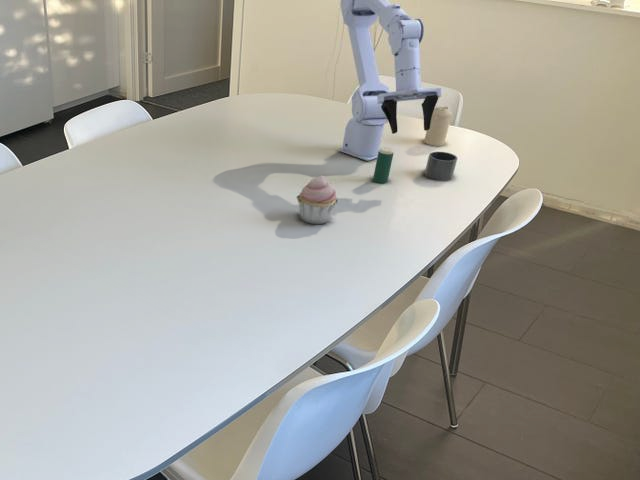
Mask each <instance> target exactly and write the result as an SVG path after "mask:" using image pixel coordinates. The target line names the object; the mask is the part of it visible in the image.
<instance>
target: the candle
mask: <svg viewBox="0 0 640 480" xmlns="http://www.w3.org/2000/svg"><path fill="white" fill-rule="evenodd" d="M452 115H453V112H452V111H451V109H450V107H449V106H435V108H434V111H433V114H432V118H431V123H430V129H429V130H427V131H425V135H424V141H423V142H424V144H427V145H430V146H435V147H440V146H444V145H445V142H446V139H447V134H448V131H449V126H450V123H451V119H452Z"/></svg>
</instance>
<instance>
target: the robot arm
mask: <svg viewBox="0 0 640 480" xmlns="http://www.w3.org/2000/svg"><path fill="white" fill-rule="evenodd" d="M400 4H401V3H390V1H389V0H340V5H339V6H340V9H341V16H342V19H343V20H342V21H343V23H344V25H346V26H347V31H348V35H349V40H350V46H351V50H352V55H353V61H354V66H355V71H356V77H357V80H358V86H359V87H358V88H357V89H356V90H355V91H354V92H353V93H352V96H351V114H352V117H351V118H350V119H349V120H348V121H347V123H346V126H345V130H344V135H343V141H342V146H341V148H340V149H339V151H340V152H341V153H345V154H346V155H349V156H353V157H354V158H358V159H361V160H363V161H367V162H369V161H371V160H375V159H377V157H378V152H379V151H380V148H381V143H382V138H383V133H384V129H385V124H389V127H390V131H391V134H392V135H395V134H397V133H398V117H397V115H398V114H397V112H398V111H397V110H398V109H397V108H398V102H406V101H416V100H417V101H418V100H423V102H422V103H421V108H422V116H423V131H425V132H426V131H427V130H429V129H430V123H431V118H432V114H433V111H434V108H436V107H437V103H438V101H439V98H440V97H442V87H422V73H421V71H422V70H421V52H420V51H421V50H420V49H421V48H420V44H421V43H422V41H423V38H424V35H425V34H424V33H425V27H424V26H425V25H424V23H423V21H422V19H421V18H411V17H410V16H409V14H408V13H406V12H405V10H403V8H402V5H400ZM377 20H378V23H379V25H380V26H381V28H382V29H383V30H384V31H385V32H386V33H387V35H388V36H387V41H388V44H389V46H390V49H391V50H390V51H391V54H392V55H393V58H394V60H393V61H394V75H395V76H394V77H395V78H394V79H395V91H391V88H390V87H389V86H387V85H386V84H384V83H383V82H382V81H381V80H380V76H379V70H378V66H377V61H376V56H375V52H374V46H373V41H372V37H371V31H370V27H371V26H372V25H374V24H376V22H377Z"/></svg>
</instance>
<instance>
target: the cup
mask: <svg viewBox="0 0 640 480" xmlns="http://www.w3.org/2000/svg"><path fill="white" fill-rule="evenodd" d="M457 163H458V157H457V155H456V154H453V153H451V152H445V151H431V152H429V154H428V157H427V161H426V165H425V169H424V176H426V177H427V178H429V179H432V180H434V181H435V180H436V181H449V180H450V181H451V180H452V179H453V177H454V173H455V170H456V166H457Z"/></svg>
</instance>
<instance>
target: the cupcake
mask: <svg viewBox="0 0 640 480" xmlns="http://www.w3.org/2000/svg"><path fill="white" fill-rule="evenodd" d="M298 194H299V195H296V196H295V197H296V200H297V202H298V208H299V216H300V219H301V220H302V221H303V222H305V223H307V224H311V225H323V224H326V223H328V222H329V220H330V218H331V215H332V214H333V211H334V210H335V208H336V206H337V205H338V204H339V203H340V200H339V199H337V198H338V196H337V191H336V190H335V187H334V185H333V184H332V183H330V182H328V181H326V179H325V177H324V176H323V175H319V176H316V177H314V178H312V179H311V180H310V181H309V182H308V183H307V184H305V186H304V187H302V189H301V192H299V193H298Z"/></svg>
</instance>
